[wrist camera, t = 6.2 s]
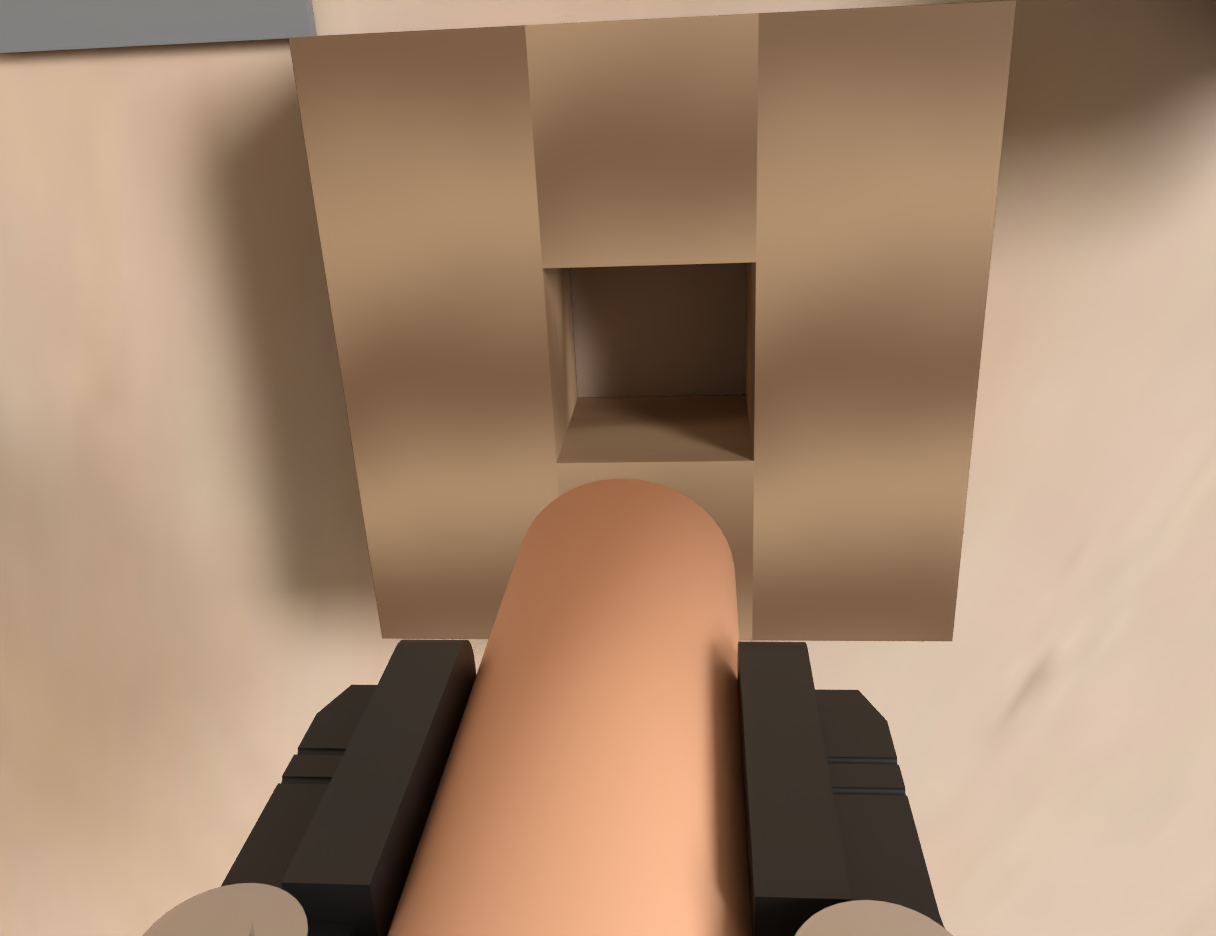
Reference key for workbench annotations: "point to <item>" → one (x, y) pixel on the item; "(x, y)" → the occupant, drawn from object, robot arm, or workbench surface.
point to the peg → (597, 737)
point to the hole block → (666, 235)
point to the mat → (147, 22)
